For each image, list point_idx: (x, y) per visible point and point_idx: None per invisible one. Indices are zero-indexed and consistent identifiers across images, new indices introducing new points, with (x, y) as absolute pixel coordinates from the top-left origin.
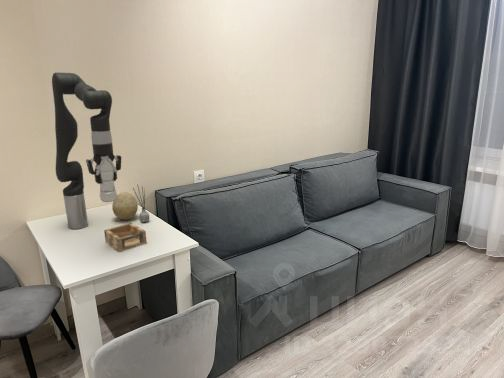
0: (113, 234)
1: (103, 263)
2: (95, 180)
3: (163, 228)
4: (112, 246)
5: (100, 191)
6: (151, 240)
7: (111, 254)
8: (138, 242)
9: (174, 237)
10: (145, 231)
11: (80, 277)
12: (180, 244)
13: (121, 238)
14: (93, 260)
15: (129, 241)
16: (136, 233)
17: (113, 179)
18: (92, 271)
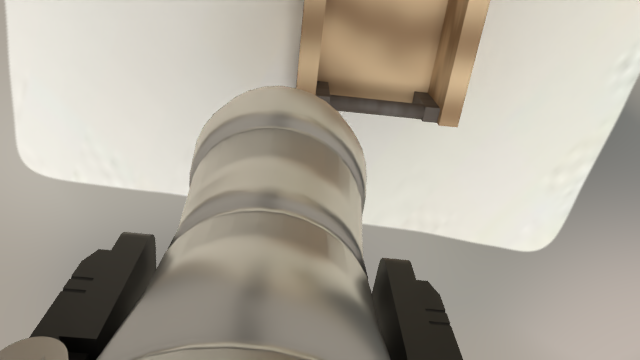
0: (314, 27)
1: (191, 132)
2: (77, 281)
3: (635, 10)
4: (303, 9)
5: (195, 172)
6: (474, 95)
7: (257, 80)
8: (407, 90)
9: (557, 152)
10: (455, 125)
11: (75, 167)
12: (507, 224)
13: (321, 97)
14: (169, 71)
15: (388, 41)
16: (448, 39)
17: (376, 297)
18: (129, 159)
